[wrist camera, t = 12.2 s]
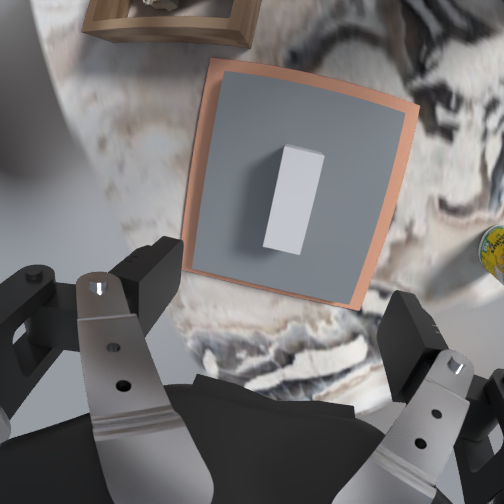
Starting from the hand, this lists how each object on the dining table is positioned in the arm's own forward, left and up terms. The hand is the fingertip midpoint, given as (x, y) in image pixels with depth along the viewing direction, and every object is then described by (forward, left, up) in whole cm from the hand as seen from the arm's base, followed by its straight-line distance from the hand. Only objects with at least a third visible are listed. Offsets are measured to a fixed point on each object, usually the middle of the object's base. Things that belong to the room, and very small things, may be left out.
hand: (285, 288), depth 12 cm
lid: (0, 0, -19) cm, 19 cm away
